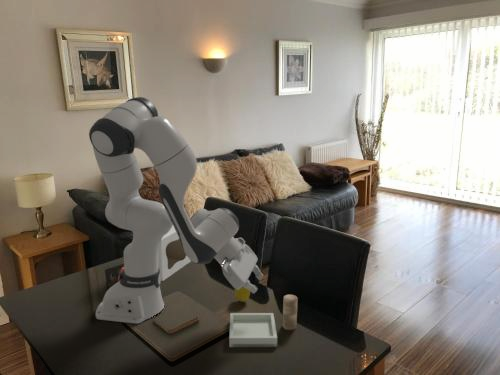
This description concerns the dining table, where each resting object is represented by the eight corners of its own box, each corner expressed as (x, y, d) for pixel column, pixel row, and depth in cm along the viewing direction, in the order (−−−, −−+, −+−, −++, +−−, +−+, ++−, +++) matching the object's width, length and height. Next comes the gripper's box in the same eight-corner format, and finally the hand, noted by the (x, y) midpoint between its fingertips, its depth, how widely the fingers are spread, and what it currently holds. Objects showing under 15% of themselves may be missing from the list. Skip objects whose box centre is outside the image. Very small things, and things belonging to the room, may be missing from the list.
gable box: (162, 281, 161) (159, 213, 155) (134, 276, 166) (131, 209, 159) (191, 261, 181) (190, 200, 175) (166, 256, 186) (163, 197, 180)
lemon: (248, 306, 143) (248, 285, 141) (233, 304, 144) (233, 283, 142) (251, 299, 148) (251, 278, 146) (236, 297, 149) (236, 277, 147)
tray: (229, 347, 119) (229, 338, 119) (230, 321, 133) (230, 313, 132) (277, 347, 120) (277, 337, 119) (273, 321, 133) (273, 313, 133)
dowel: (283, 330, 128) (284, 301, 126) (281, 322, 133) (282, 294, 130) (297, 330, 129) (298, 301, 126) (295, 322, 133) (296, 294, 131)
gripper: (226, 259, 118) (259, 294, 118) (243, 236, 137) (271, 265, 137) (212, 272, 120) (244, 306, 120) (230, 247, 139) (258, 276, 139)
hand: (258, 284), depth 129 cm, fingers open, 8 cm apart
